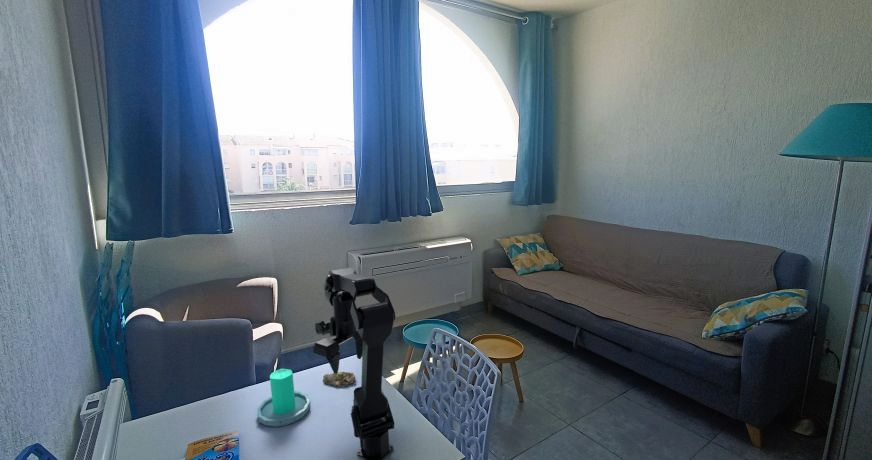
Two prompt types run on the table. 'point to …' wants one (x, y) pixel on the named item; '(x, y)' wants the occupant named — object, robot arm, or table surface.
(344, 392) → the table surface
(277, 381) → the candle
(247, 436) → the table surface
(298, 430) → the table surface
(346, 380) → the mineral rock
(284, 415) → the dish
